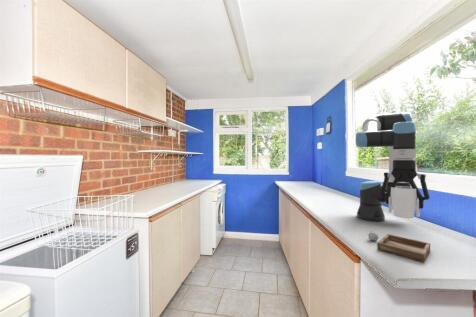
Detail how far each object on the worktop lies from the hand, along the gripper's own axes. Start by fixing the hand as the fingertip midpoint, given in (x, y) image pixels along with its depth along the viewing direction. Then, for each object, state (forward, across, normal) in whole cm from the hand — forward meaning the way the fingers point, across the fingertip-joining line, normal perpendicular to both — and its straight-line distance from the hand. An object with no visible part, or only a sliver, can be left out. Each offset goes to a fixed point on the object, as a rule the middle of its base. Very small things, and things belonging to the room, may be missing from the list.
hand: (403, 214), depth 91 cm
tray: (+15, 0, 0) cm, 15 cm away
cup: (+1, 0, 0) cm, 1 cm away
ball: (+15, -12, +3) cm, 19 cm away
